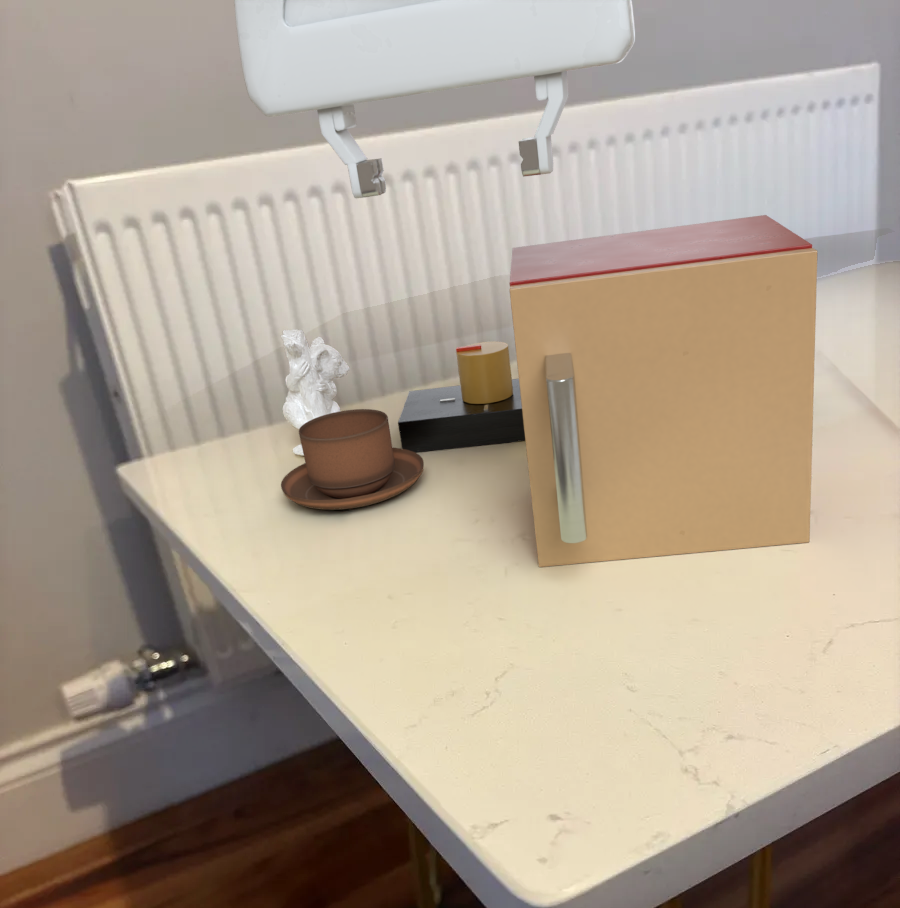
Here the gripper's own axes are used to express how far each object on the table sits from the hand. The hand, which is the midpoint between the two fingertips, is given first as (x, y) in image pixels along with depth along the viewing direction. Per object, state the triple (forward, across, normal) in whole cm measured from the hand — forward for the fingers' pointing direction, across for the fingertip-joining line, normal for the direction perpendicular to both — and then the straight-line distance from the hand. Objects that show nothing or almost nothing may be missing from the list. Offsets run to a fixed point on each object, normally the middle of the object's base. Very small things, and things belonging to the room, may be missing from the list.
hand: (452, 185), depth 56 cm
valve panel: (+25, +10, -33) cm, 42 cm away
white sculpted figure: (+25, +23, -29) cm, 44 cm away
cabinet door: (+25, -11, -2) cm, 27 cm away
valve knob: (+22, +8, -33) cm, 41 cm away
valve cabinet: (+25, -9, -12) cm, 29 cm away
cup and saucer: (+25, +16, -18) cm, 35 cm away
